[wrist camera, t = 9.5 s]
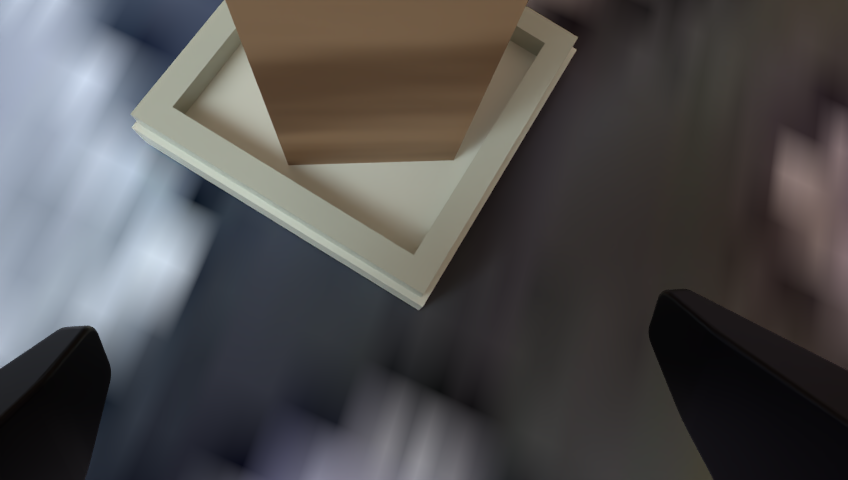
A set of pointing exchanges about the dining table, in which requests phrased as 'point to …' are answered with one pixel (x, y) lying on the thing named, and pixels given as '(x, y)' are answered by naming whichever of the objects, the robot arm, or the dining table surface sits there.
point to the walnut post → (373, 73)
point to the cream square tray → (353, 182)
